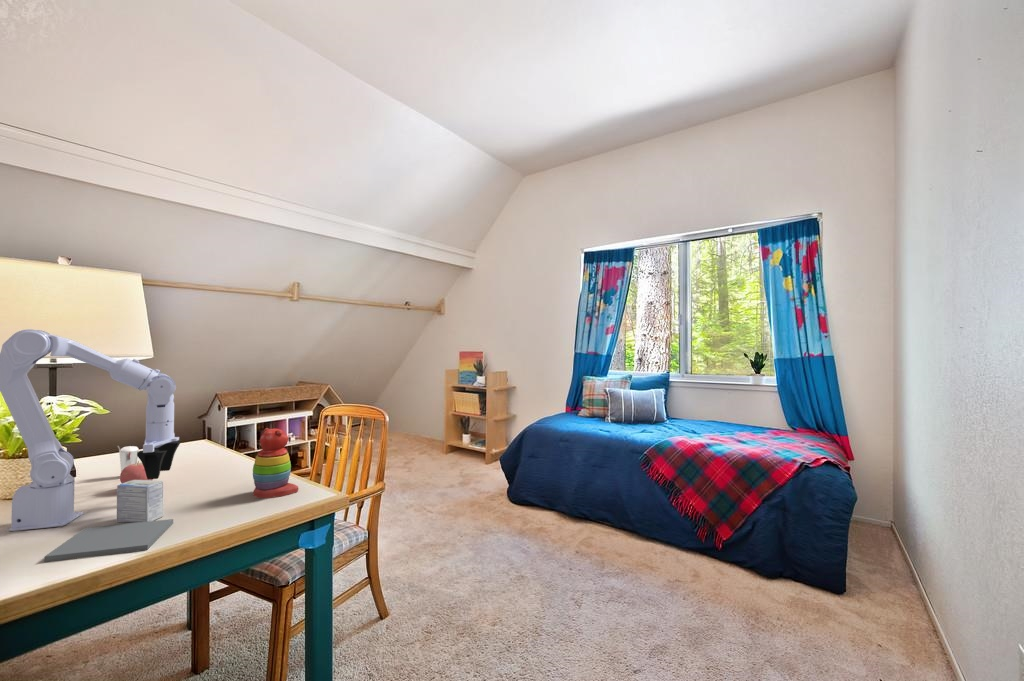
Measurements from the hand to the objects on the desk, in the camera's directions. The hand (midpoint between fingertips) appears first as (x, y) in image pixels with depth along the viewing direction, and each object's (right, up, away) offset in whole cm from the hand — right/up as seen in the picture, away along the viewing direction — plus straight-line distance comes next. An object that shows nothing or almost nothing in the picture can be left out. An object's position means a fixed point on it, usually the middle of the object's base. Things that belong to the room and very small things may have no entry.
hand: (159, 474), depth 116 cm
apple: (-15, -8, +11) cm, 20 cm away
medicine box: (+4, -8, -10) cm, 13 cm away
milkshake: (-27, -8, +22) cm, 36 cm away
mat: (+8, -7, -21) cm, 24 cm away
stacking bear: (+24, -8, +10) cm, 27 cm away
